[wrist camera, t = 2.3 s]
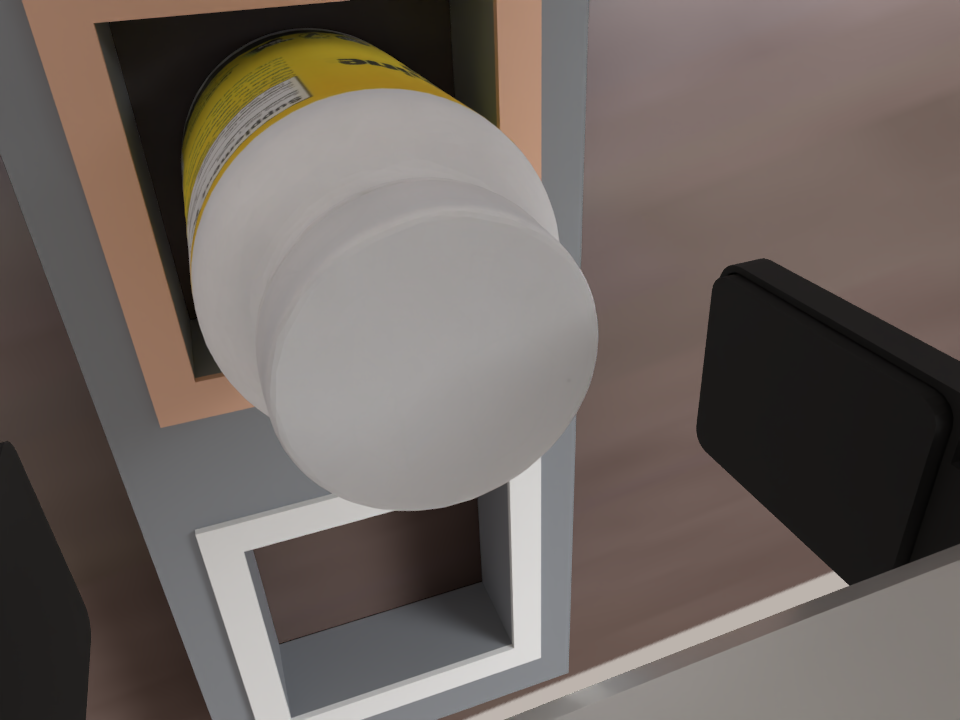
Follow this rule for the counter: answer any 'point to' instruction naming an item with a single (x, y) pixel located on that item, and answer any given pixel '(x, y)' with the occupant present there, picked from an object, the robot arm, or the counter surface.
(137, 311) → the socket stand
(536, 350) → the pill bottle
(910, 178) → the counter surface
